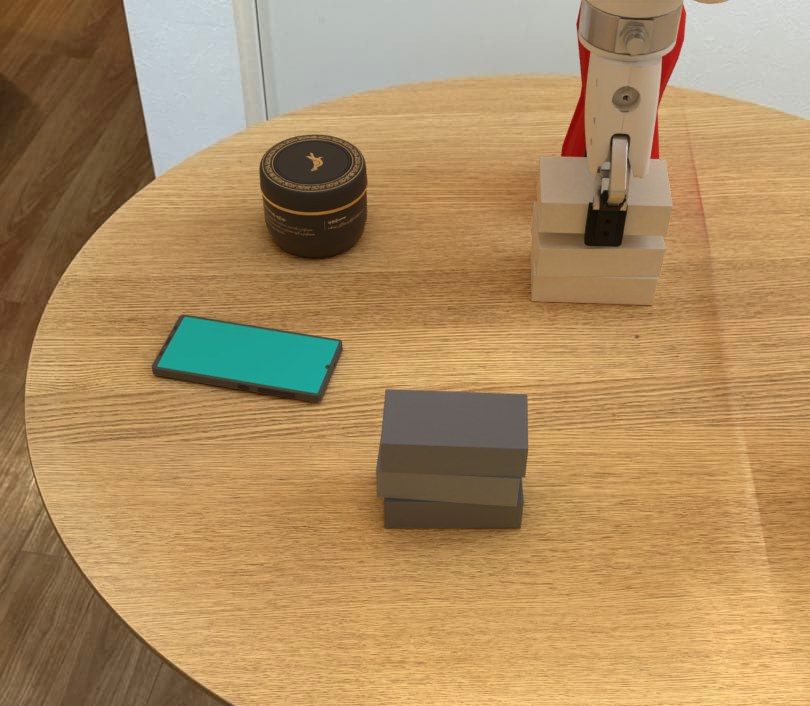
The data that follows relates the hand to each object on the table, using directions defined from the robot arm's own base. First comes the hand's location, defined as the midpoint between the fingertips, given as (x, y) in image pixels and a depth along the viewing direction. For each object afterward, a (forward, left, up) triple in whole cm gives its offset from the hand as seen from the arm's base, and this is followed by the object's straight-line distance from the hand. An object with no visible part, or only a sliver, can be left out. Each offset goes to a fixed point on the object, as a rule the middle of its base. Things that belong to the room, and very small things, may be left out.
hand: (600, 216), depth 102 cm
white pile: (0, 0, -7) cm, 7 cm away
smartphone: (+30, +13, -7) cm, 33 cm away
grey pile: (+12, +28, -7) cm, 31 cm away
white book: (0, 0, +1) cm, 1 cm away
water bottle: (-2, -14, -7) cm, 16 cm away
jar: (+26, -6, -7) cm, 28 cm away
